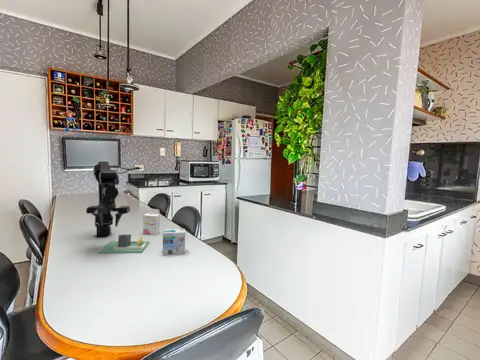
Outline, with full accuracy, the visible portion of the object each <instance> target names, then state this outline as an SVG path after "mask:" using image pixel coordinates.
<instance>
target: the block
mask: <svg viewBox="0 0 480 360" xmlns="http://www.w3.org/2000/svg"><path fill="white" fill-rule="evenodd" d="M117 237H118V239H117V240H118V241H117V242H118V247H127V246H130V243H131V241H132V240H131V239H132V234H130V233H129V234H124V233H123V234H118V236H117Z"/></svg>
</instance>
